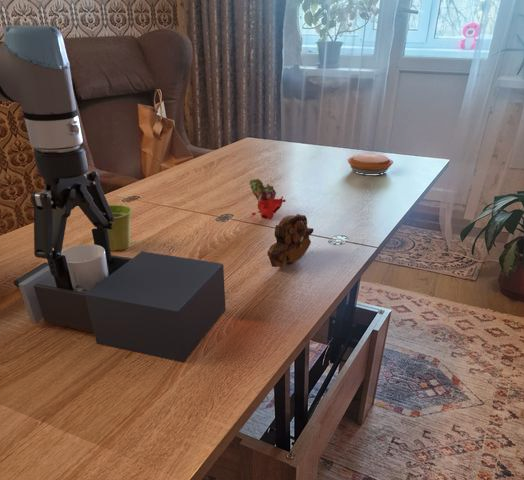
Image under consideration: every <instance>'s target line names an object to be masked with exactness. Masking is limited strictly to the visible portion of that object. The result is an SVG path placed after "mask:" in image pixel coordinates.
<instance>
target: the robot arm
mask: <svg viewBox="0 0 524 480" xmlns="http://www.w3.org/2000/svg"><path fill="white" fill-rule="evenodd" d="M63 37H64V36H63V35H62V32H61V31H60V30H59V29H58V28H57V27H55V26H53V25H45V24H44V25H43V24H35V25H33V24H12V25H5V27H4V28H3V38H4V39H3V40H4V41H0V102H13V103H20V107H21V111H22V114H23V117H24V118H23V119H24V123H25V127H26V130H27V135H28V139H29V144H30V146H31V147H33V148H34V150H33V152H32V154H33V159H34V162H35V166H36V170H37V173H38V174H39V176H40V177H41V178H42V179H43V181H44V190H41V191H32V192H31V193H30V199H31V203H32V207H33V245H34V246H33V252H34V253H33V255H34V257H35V258H39V259H45V260H46V262H47V263H48V264H49V268H50V272H51V274H52V276H54V279H55V282H56V286H57V288H62V289H67V290H73V286H72V282H71V278H70V274H69V269H68V265H67V261H66V257H65V256H64V255H61V251H62V250H63V245H64V239H65V233H66V227H67V221H68V220H67V219H68V218H70V216H71V214H72V210H75V208H76V207H78V208H79V209H80V210H81V211H82V212H83V214H84V215H85V216H86V218H87V219H88V220H89V221H90V222H91V224H92V225H93V227H94V228H92V229H91V234H92V239H93V244H94V245H99V246H101V247H103V248H104V249H105V254H106V261H107V264H108V265H111V264H112V263H113V262H112V257H111V255H112V251H110V246H109V244H110V240H109V235H108V229H112V227H113V224H112V223H110V222H113V221H114V216H113V214H112V211H111V209H110V207H109V205H110V204H109V203H108V199H107V197H106V196H105V193H104V191H103V188H102V186H101V183H100V177H99V173H98V171H93V170H89V165H88V160H87V159H88V158H87V154H86V149H85V148H84V147H83V146H82V144H83V142H84V140H83V139H84V138H83V135H82V129H81V123H80V119H79V114H78V113H79V112H78V109H77V108H78V107H77V105H76V98H75V94H74V93H75V92H74V89H73V80H72V73H71V63H70V60H69V59H68V54H67V51H66V46H65V41H64V38H63ZM104 213H105V214H104ZM73 291H74V290H73Z"/></svg>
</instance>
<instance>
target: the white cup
mask: <svg viewBox="0 0 524 480" xmlns="http://www.w3.org/2000/svg"><path fill="white" fill-rule="evenodd" d="M61 255H64V256H65V257H66V261H67V265H68V269H69V274H70V278H71V282H72V286H73V290H74V291H78V292H83V293H87V292H88V291H89V290H91V289H92V288H93V287H95V286H96V285H97V284H99V283H100V282H101V281H103V280H104V279H106V278H107V277H108V276H109V273H108V267H107V261H106V254H105V249H104V248H103V247H101V246H99V245H94V243H82V244H76V245H71V246H69V247H66V248H64V249H62V251H61Z"/></svg>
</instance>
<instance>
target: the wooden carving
mask: <svg viewBox="0 0 524 480" xmlns="http://www.w3.org/2000/svg"><path fill="white" fill-rule="evenodd" d="M313 233H314V228H313V227H308V218H307V216H306V215H304V214H299V213H297V214H296V215H295V214H287V215H286V216H284V217H283V218H282V219H281V220H280V221H279V223H278V224H276V225H275V226H274V238H275V240H276V241H275V242H274V243H273V244H271V245H270V246H269V248H268V250H267V254H266V255H267V257H268V259H269V261H270V265H271V267H273V268H283V267H284V266H285V264H286V263H295V262H298V261H299V260H300V259H301V258H302V257H303V256H305V254H306V253H307V251H308V249H309V248H310V246H311V244H312V241H311V239H310V236H311V235H312V234H313Z"/></svg>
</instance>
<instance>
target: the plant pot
mask: <svg viewBox="0 0 524 480" xmlns="http://www.w3.org/2000/svg"><path fill="white" fill-rule="evenodd" d="M109 207H110V209H111V211H112V214H113V216H114V221H113V222H110V223H112V224H113V227H112V229H108V235H109V240H110V244H109V246H110V251H111V252H115V251H118V250H119V251H124V250H126V249H128V248H129V247H130V246H131V217H132V212H133V209H132V207H130V206H128V205H124V204H109ZM104 214H105V213H104Z"/></svg>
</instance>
